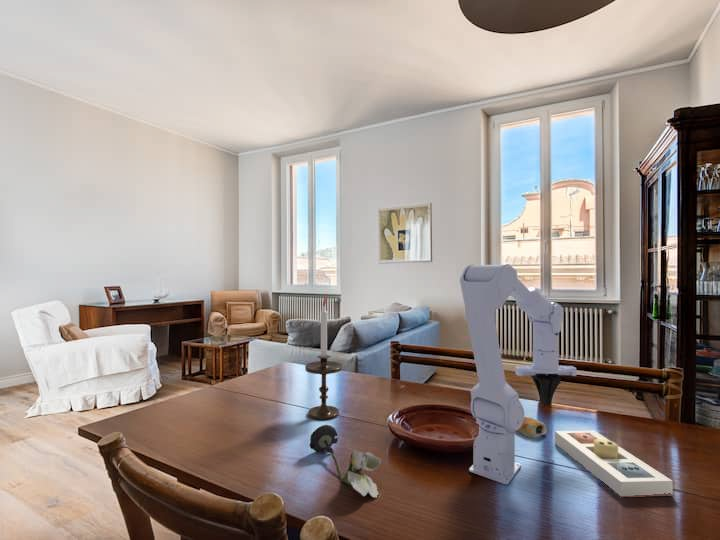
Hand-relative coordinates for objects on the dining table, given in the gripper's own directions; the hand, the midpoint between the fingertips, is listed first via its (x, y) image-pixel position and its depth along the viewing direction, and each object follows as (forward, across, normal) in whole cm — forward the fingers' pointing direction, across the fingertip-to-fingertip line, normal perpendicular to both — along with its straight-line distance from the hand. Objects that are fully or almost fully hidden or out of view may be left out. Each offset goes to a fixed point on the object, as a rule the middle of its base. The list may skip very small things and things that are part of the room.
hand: (545, 404), depth 92 cm
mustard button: (+7, -7, +12) cm, 16 cm away
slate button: (+9, -7, +19) cm, 22 cm away
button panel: (+9, -7, +12) cm, 17 cm away
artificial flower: (+10, +50, +12) cm, 52 cm away
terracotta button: (+9, -7, +5) cm, 12 cm away
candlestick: (+10, +56, -20) cm, 60 cm away
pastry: (+10, +1, -6) cm, 12 cm away
